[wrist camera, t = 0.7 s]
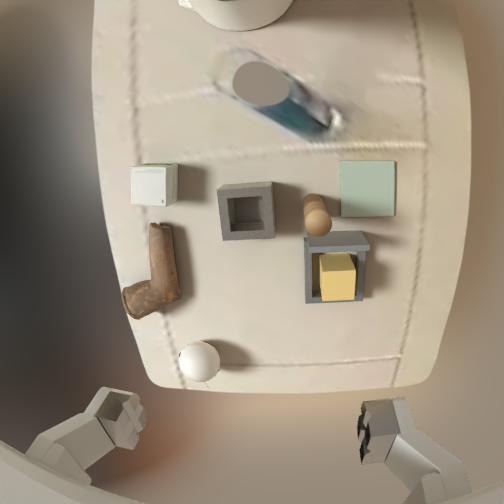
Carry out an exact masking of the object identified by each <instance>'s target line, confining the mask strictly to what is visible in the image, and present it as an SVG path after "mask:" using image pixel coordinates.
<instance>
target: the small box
mask: <svg viewBox="0 0 504 504" xmlns="http://www.w3.org/2000/svg"><path fill="white" fill-rule="evenodd" d="M177 199H178V164H141V165H137V166H133V167H131V204H132V205H138V206H159V207H167V206H169V205H170V204H172V203H173V202H175V201H177Z"/></svg>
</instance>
